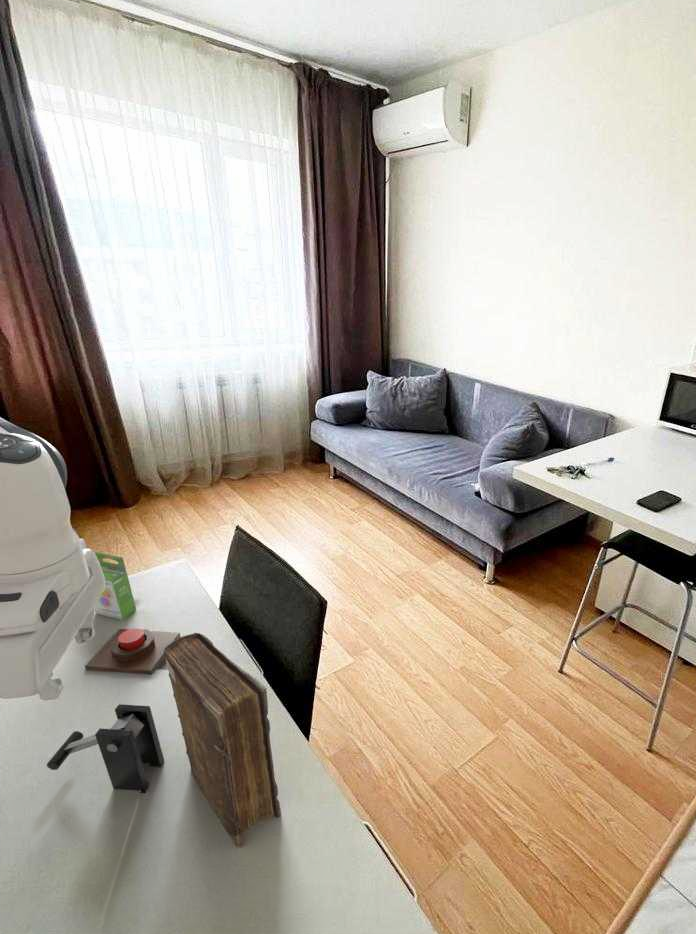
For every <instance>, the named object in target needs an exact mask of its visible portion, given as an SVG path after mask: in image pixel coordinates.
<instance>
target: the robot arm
mask: <svg viewBox="0 0 696 934" xmlns="http://www.w3.org/2000/svg"><path fill="white" fill-rule="evenodd" d="M67 482H68V469H67V464H66V462H65V460H64V458H63V455H61V453H60V452H59V451H58V449H57V448H56V447H55V446H53V444H51V443H49V442H48V440H45V439H44V438H42V437H41V436H39V435H36V434H35V433H33V432H31V431H29V430H27V429H24V428H22V427H20V426H18V425H15V424H13V423H11V422H10V421H8V420H6V419H5V418H2V417H1V416H0V699H3V700H10V699H20V698H26V697H27V698H28V697H32V696H36V695H38V697H39V699H41V701H52V700H57V699H58V698H59V697H60V695H61V693H62V691H63V689H64V685H63V680H62V679H61V677H60V678H59V677H58V678H53V679H52V677H53V676H54V670H55V669H56V667H57V666H58V664H59V662H60V660H61V659H62V657H63V656H64V654H65V653H66V651H67V650H68V648H69V647H70V645H71V643H72V642H73V640H74V641H75V643H76V644H77V645H79V644H84V643H85V644H89V643H91V641H92V639H93V638H94V637H95V635H96V631H95V626H94V621H95V619H94V618H95V610H94V606H95V604H96V602H97V601H98V599H99V598H100V596H101V595H102V593H103V591H104V589H105V578H104V575H103V572H102V569H101V566H100V564H99V561H98V559H97V557H96V555H95V551H94V550H92V549H91V548H87V543H86V542H85V539H84V538H81V536H79V535H78V534H77V532H76V531H75V530H74V528H73V527H72V524H71V523H72V522H71V512H72V511H71V504H70V501H69V498H68V495H67V491H66V487H67Z"/></svg>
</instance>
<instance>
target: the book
mask: <svg viewBox="0 0 696 934" xmlns="http://www.w3.org/2000/svg"><path fill="white" fill-rule="evenodd" d="M164 654H165V659H166V663H165V664H166V666H167V669H168V677H169V680H170V685H171V687H172V691H173V692H172V693H173V699H174V701H175V705H176V709H177V713H178V715H177V717H178V718H179V722H180V727H181V731H182V732H181V735H182V736H183V740H184V745H185V749H186V751H185V753H186V756H187V757H188V762H189V765H190V770H191V775H192V777H193V779H194V781H195V783H196V784H197V786H198V788H199V790H200V791H201V793H202V794H203V796H204V798H205V799H206V801H207V802H208V805H209V806H210V808H211V809H212V811H213V812H214V814H215V816H216V817H217V818H218V820H219V822H220V823H221V825H222V826H223V828H224V829H225V832H226V833H227V834H228V836H229V837H230V838H231V840H232V843H233V844H234V846H236V847H238V849H240V848H243V847H244V843H243V834H245V832H246V830H249V829H250V828H251V826H253V825H256V823H258V822H260V821H261V820H263V819H266V818H267V817H269V816H271V817H276V819H277V818H280V817H281V816H282V810H281V804H280V801H279V799H278V795H279V791H278V789H279V788H278V785H277V782H276V777H275V769H274V761H273V752H272V746H271V737H270V734H271V723H270V720H269V717H268V714H269V704H268V703H269V701H268V691H267V688H266V687H265V686H264V685H263V684H262V683H261V682H260V681H259V680H258V679H257V678H256V677H253V676H252V675H251V674H250V673H249V672H247V671H245V670H244V669H242V668H241V667H240V666H238V665H237V664H236V662H234V661H232V660H231V658H228V657H227V655H225V654H224V653H223V652H222V651H221V650H220V649H218V648H217V647H216V646H215V645H214V643H213V642H212V641H211V640H210V639H209V638H208V637H206V636H205V635H204V634H202V633H200V632H194V633H190V634H187V635H183V636H181V638H179V639H177V640H174V641H173V642H171V643H170V644H169V645H167V646H166V647H165V649H164Z"/></svg>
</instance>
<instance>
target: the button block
mask: <svg viewBox="0 0 696 934" xmlns="http://www.w3.org/2000/svg"><path fill="white" fill-rule="evenodd" d="M130 629H131V628H129V629H128V628H119V629H118V630H116V632H114V634H113V635H112V636H111V637H110V638H109V639H108V640H107V641H106V642H105V644H103V646H102V647H101V648H100V649H99V650H98V651H97V652H96V653H95V654H94V655H93V656H92V657H91V658H90V659H89V661H87V663H86V664H84V669H85V671H94V672H106V673H107V672H108V673H122V674H123V673H126V674H139V675H153V674H154V672H155V671H156V670H161V669H162V668H163V667H164V666H165V664H167V663H166V659H165V654H164V649H165V647H166V646H167V645H169V644H170V643H171V642H173V641H174V640H177V639H179V638H181V637H182V636H181V632H176V631H175V632H174V631H160V630H159V631H158V630H150V629H149V628H140V629H141V630H143V633H144V637H145V642H144V643H143V644H142V645H141V646H139V647H137V648H134V649H131V650H123V649H121V647H120V644H119V640H118V638H119V636H120V635H121V634H122V633H123V632H125V631H127V630H130Z"/></svg>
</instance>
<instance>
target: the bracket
mask: <svg viewBox="0 0 696 934" xmlns="http://www.w3.org/2000/svg"><path fill="white" fill-rule="evenodd" d="M114 712H115V716H116V719H117V720H118V719H121V718H123V717H126V716H129V715H132V714H134V715H135V716H136V717H137V718H138V719H139V720H140V721H141V722H142V723H143V724H144V726H143V728H142V729H141V731H140V732H139V733H138V735H137V736H136V738H135V737H134V734H133V731H132V730H117V729H111V728H103V727H102V728H101V727H100V728H99V729H98V730H97V732H95V734H94V735H95V736H96V739H97V742H98V744H97V745H98V748H99V750H100V753H101V756H102V759H103V762H104V765H105V768H106V771H107V775H108V777H109V779H110V782H111V785H112V789H113V790H120V791H121V790H123V791H136V792H137V791H138V792H139V794H146V793H147V792H148V789H150V785H149V782H148V779H147V774H146V771H145V768H144V765H148V767H153V768H161V767H162V766H163V764H164V763H165V758H164V754H163V750H162V747H161V743H160V739H159V735H158V732H157V728H156V723H155V721H154V715H153V713H152V709H151V706H150V705H142V704H141V705H140V704H139V705H138V704H122V703H119V704H117V706H116V707H115V709H114Z"/></svg>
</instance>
